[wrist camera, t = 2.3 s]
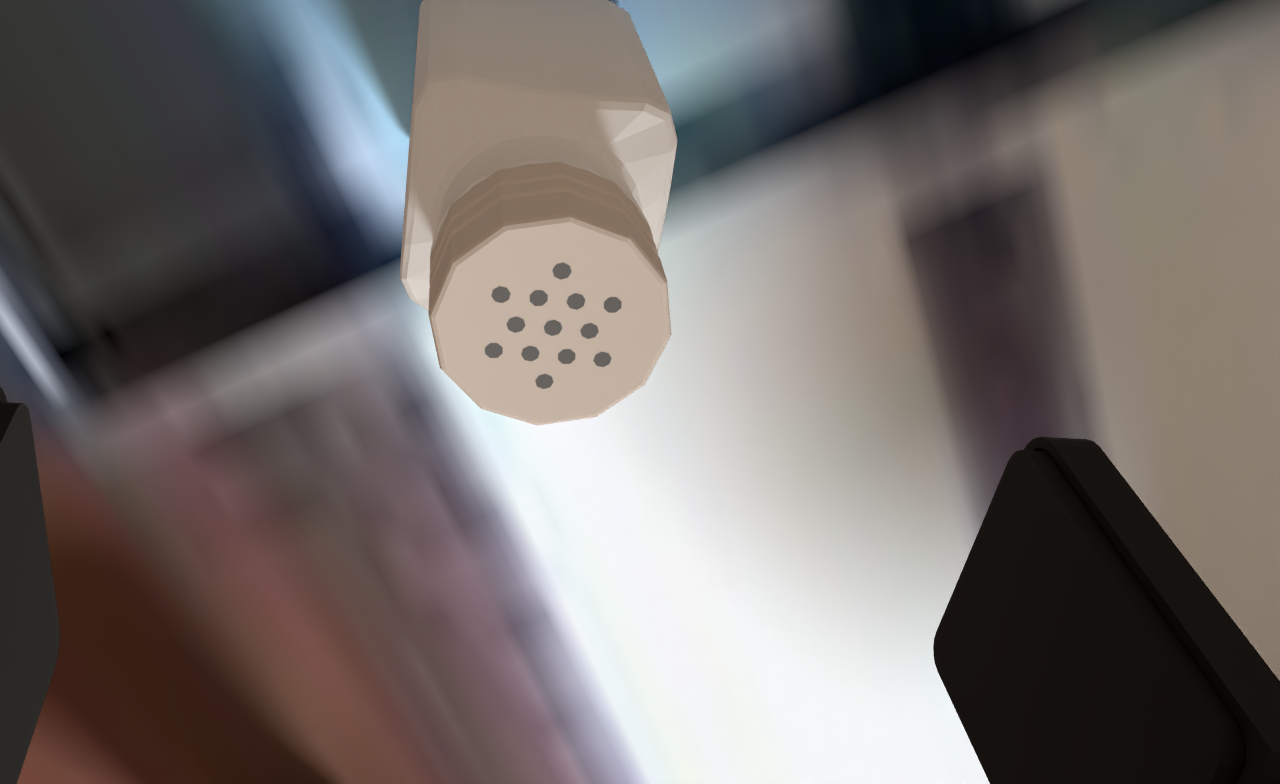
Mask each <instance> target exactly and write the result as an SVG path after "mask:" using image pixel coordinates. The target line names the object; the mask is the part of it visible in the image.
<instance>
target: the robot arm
mask: <svg viewBox="0 0 1280 784" xmlns="http://www.w3.org/2000/svg"><path fill="white" fill-rule="evenodd" d="M59 642H60V627H59V618H58V611H57V604H56V597H55V589H54V582H53V575H52V568H51V561H50V554H49V547H48V540H47V532H46V525H45V518H44V511H43V504H42V497H41V490H40V483H39V475H38V468H37V461H36V454H35V447H34V440H33V433H32V426H31V419H30V414H29V410H28V408H27V406H26V405H25V404H23V403H7V400H6V396H5V394H4V392H3V390H2V388H1V387H0V784H17V781H18V778H19V775H20V772H21V769H22V766H23V763H24V760H25V757H26V754H27V751H28V748H29V745H30V742H31V739H32V736H33V733H34V730H35V727H36V724H37V721H38V718H39V715H40V712H41V709H42V706H43V702H44V699H45V696H46V693H47V690H48V687H49V684H50V681H51V678H52V675H53V672H54V669H55V666H56V662H57V657H58V651H59ZM933 648H934V660H935V665H936V668H937V670H938V673H939V675H940V677H941V679H942V681H943V684H944V686H945V688H946V690H947V692H948V694H949V696H950V699H951V701H952V703H953V705H954V707H955V709H956V712H957V714H958V716H959V718H960V720H961V722H962V724H963V727H964V729H965V731H966V733H967V735H968V737H969V739H970V742H971V744H972V746H973V748H974V750H975V752H976V754H977V757H978V759H979V761H980V763H981V765H982V767H983V769H984V772H985V774H986V776H987V778H988V780H989V782H990V784H1280V681H1279V680H1278V678H1277V677H1276V676H1275V675H1274V673H1273V672H1272V671H1271V669H1270V668H1269V667H1268V665H1267V664H1266V663H1265V662H1264V660H1263V659H1262V658H1261V656H1260V655H1259V654H1258V652H1257V651H1256V650H1255V648H1254V647H1253V646H1252V645H1251V643H1250V642H1249V641H1248V639H1247V638H1246V637H1245V635H1244V634H1243V633H1242V632H1241V630H1240V629H1239V628H1238V626H1237V625H1236V624H1235V622H1234V621H1233V620H1232V619H1231V617H1230V616H1229V615H1228V613H1227V612H1226V611H1225V609H1224V608H1223V607H1222V606H1221V604H1220V603H1219V602H1218V600H1217V599H1216V598H1215V596H1214V595H1213V594H1212V592H1211V591H1210V590H1209V589H1208V587H1207V586H1206V585H1205V583H1204V582H1203V581H1202V579H1201V578H1200V577H1199V576H1198V574H1197V573H1196V572H1195V570H1194V569H1193V568H1192V566H1191V565H1190V564H1189V563H1188V561H1187V560H1186V559H1185V557H1184V556H1183V555H1182V553H1181V552H1180V551H1179V550H1178V548H1177V547H1176V546H1175V544H1174V543H1173V542H1172V540H1171V539H1170V538H1169V536H1168V535H1167V534H1166V533H1165V531H1164V530H1163V529H1162V527H1161V526H1160V525H1159V523H1158V522H1157V521H1156V520H1155V518H1154V517H1153V516H1152V514H1151V513H1150V512H1149V510H1148V509H1147V508H1146V507H1145V505H1144V504H1143V503H1142V501H1141V500H1140V499H1139V497H1138V496H1137V495H1136V494H1135V492H1134V491H1133V490H1132V488H1131V487H1130V486H1129V484H1128V483H1127V482H1126V480H1125V479H1124V478H1123V477H1122V475H1121V474H1120V473H1119V471H1118V470H1117V469H1116V467H1115V466H1114V465H1113V464H1112V462H1111V461H1110V460H1109V458H1108V457H1107V456H1106V454H1105V453H1104V452H1103V451H1102V449H1101V448H1100V447H1099V446H1098V445H1097V444H1096V443H1095V442H1093V441H1090V440H1087V439H1069V438H1048V437H1039V438H1035V439H1033V440H1032V441H1031V442H1029V443H1028V444H1027V446H1026V447H1025V449H1024V450H1020V451H1016V452H1015V453H1014V454H1013V455H1012V456H1011V458H1010V460H1009V461H1008V463H1007V466H1006V468H1005V471H1004V473H1003V475H1002V478H1001V480H1000V482H999V485H998V487H997V489H996V492H995V494H994V497H993V499H992V501H991V504H990V506H989V508H988V511H987V513H986V516H985V518H984V520H983V523H982V525H981V527H980V530H979V532H978V534H977V537H976V539H975V542H974V544H973V546H972V549H971V551H970V553H969V556H968V558H967V561H966V563H965V565H964V568H963V570H962V572H961V575H960V577H959V580H958V582H957V584H956V587H955V589H954V591H953V594H952V596H951V598H950V601H949V603H948V606H947V608H946V610H945V613H944V615H943V617H942V620H941V622H940V625H939V627H938V629H937V632H936V635H935V638H934V647H933Z"/></svg>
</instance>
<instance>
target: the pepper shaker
mask: <svg viewBox="0 0 1280 784" xmlns="http://www.w3.org/2000/svg"><path fill="white" fill-rule="evenodd" d="M676 147H677V136H676V132H675V128H674V124H673V119H672V115H671V111H670V108H669V106H668V103H667V101H666V99H665V96H664V94H663V92H662V89H661V87H660V85H659V83H658V80H657V78H656V76H655V73H654V71H653V69H652V66H651V64H650V62H649V59H648V57H647V55H646V52H645V50H644V48H643V45H642V43H641V41H640V38H639V36H638V34H637V31H636V29H635V27H634V24H633V22H632V20H631V18H630V15H629V13H628V12H627V11H625V10H624V9H622V8H621V7H619V6H617V5H616V4H614V3H612V2H611V1H609V0H423V1H422V3H421V5H420V12H419V25H418V38H417V51H416V64H415V77H414V90H413V103H412V116H411V129H410V142H409V155H408V169H407V183H406V196H405V210H404V224H403V238H402V251H401V265H400V278H401V281H402V283H403V285H404V287H405V289H406V291H407V293H408V295H409V297H410V299H411V300H412V301H414V302H415V303H417V304H419V305H420V306H422V307H423V308H425V309H426V310H428V311H429V318H430V323H431V328H432V332H433V337H434V342H435V346H436V351H437V356H438V361H439V365H440V368H441V369H442V370H443V371H444V372H445V373H446V374H447V375H448V376H449V377H450V378H451V379H452V380H453V381H454V382H455V383H456V384H457V385H458V386H459V387H460V388H461V389H462V390H463V391H464V392H465V393H466V394H467V395H468V396H469V397H470V398H471V399H472V400H473V401H474V402H475V403H476V404H477V405H478V406H479V407H480V408H481V409H484V410H488V411H491V412H494V413H498V414H501V415H504V416H508V417H511V418H514V419H518V420H521V421H524V422H528V423H531V424H534V425H543V424H550V423H556V422H563V421H570V420H577V419H584V418H591V417H596V416H598V415H599V414H601V413H602V412H604V411H605V410H607V409H608V408H610V407H611V406H613V405H614V404H616V403H618V402H619V401H621V400H622V399H624V398H625V397H627V396H628V395H630V394H631V393H633V392H634V391H636V390H637V389H639V388H640V387H642V386H643V385H644V384H645V383H646V381H647V379H648V377H649V375H650V374H651V372H652V370H653V368H654V366H655V364H656V362H657V361H658V359H659V357H660V355H661V353H662V351H663V349H664V348H665V346H666V344H667V342H668V340H669V338H670V336H671V325H670V313H669V301H668V288H667V279H666V276H665V273H664V270H663V267H662V264H661V261H660V258H659V256H658V248H659V243H660V239H661V235H662V230H663V225H664V220H665V214H666V209H667V204H668V198H669V193H670V187H671V180H672V173H673V167H674V160H675V153H676Z"/></svg>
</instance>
